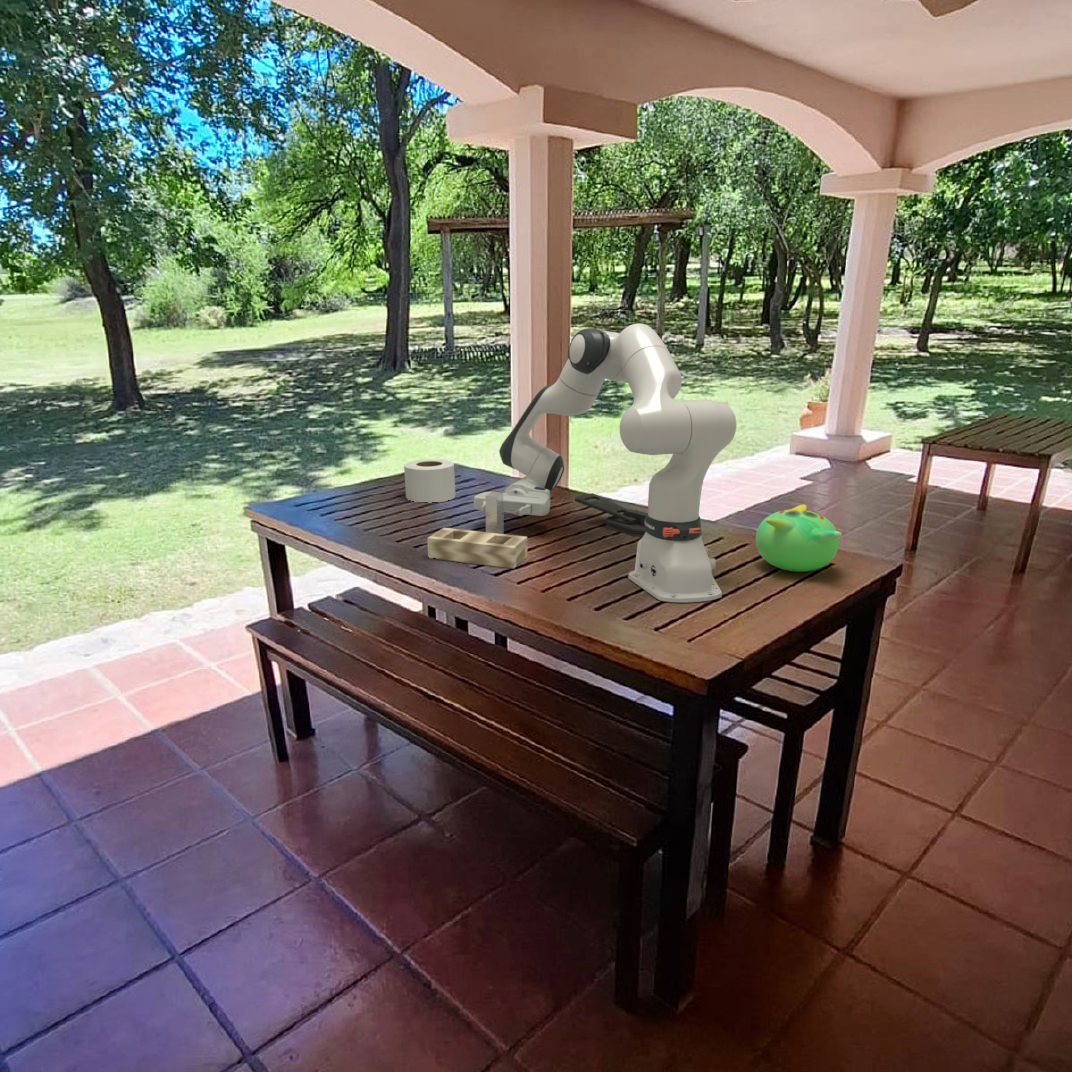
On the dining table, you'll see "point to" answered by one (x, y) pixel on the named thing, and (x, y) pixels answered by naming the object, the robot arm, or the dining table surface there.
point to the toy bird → (797, 540)
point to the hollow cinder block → (477, 547)
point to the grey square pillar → (494, 513)
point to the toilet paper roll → (429, 480)
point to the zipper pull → (617, 515)
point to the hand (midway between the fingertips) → (501, 511)
